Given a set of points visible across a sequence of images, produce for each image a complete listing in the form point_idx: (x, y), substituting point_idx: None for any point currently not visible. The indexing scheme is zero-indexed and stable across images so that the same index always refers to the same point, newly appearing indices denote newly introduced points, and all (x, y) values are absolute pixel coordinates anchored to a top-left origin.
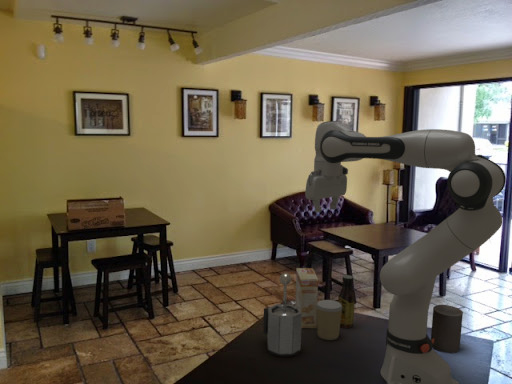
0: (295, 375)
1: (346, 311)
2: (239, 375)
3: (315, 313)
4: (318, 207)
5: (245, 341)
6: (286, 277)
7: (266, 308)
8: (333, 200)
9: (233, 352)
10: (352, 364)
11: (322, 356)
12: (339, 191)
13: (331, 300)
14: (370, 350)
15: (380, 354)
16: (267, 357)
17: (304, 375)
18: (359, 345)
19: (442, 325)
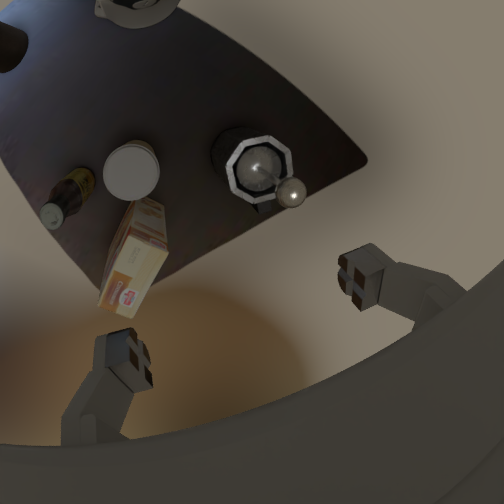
0: (277, 83)
1: (82, 176)
2: (331, 130)
3: (137, 202)
4: (395, 266)
5: None
6: (301, 183)
7: (267, 208)
8: (115, 417)
9: None
10: (179, 56)
11: (201, 100)
12: (76, 498)
13: (111, 190)
14: (114, 78)
15: (111, 60)
16: None
17: (266, 75)
18: (115, 101)
19: (8, 31)
